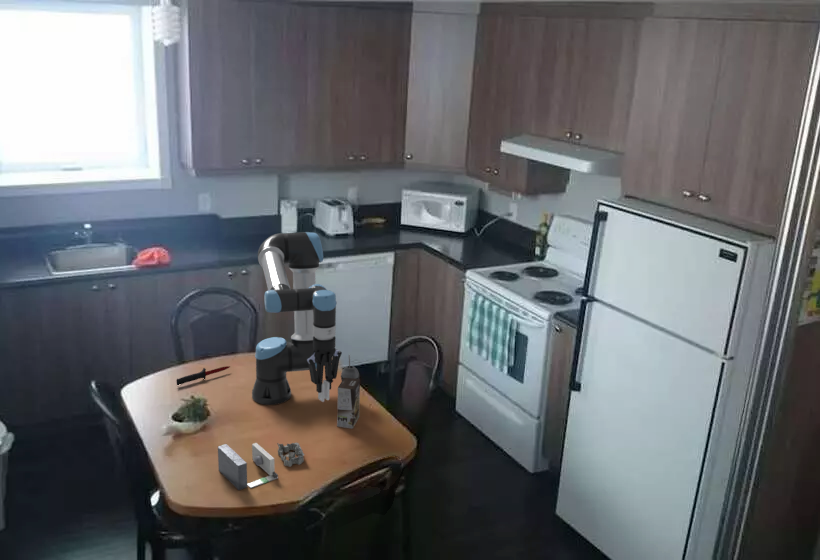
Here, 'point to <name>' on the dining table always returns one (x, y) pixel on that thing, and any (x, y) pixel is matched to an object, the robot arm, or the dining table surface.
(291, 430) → the dining table surface
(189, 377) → the knife
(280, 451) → the egg carton
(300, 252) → the robot arm
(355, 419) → the coffee box
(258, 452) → the spring plate
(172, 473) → the dining table surface
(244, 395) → the dining table surface
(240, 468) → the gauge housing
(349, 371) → the beverage cup
